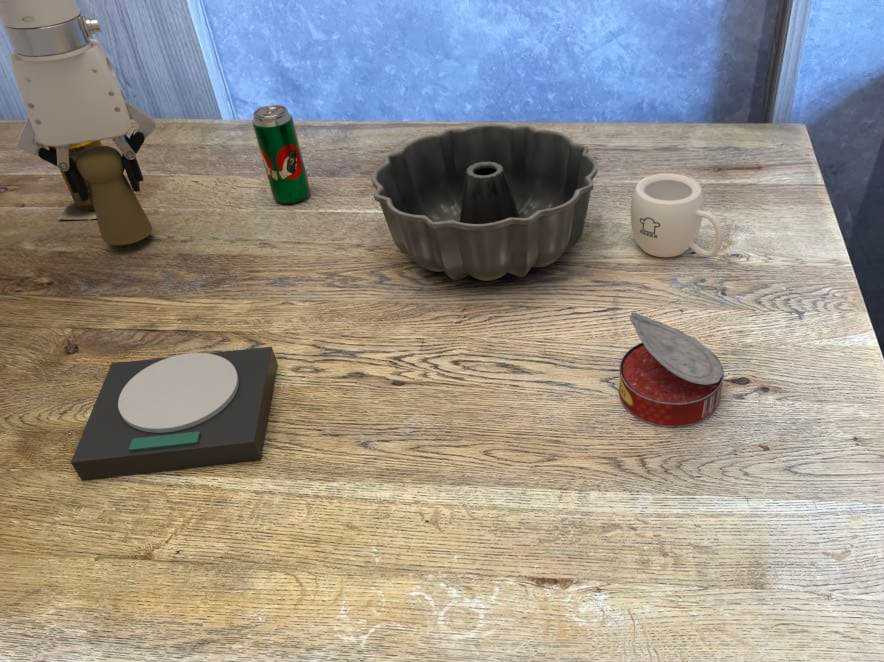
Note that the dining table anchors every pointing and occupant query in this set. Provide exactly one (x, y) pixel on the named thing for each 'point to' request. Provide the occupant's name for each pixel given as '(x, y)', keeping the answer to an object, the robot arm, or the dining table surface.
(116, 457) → the scale
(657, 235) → the mug
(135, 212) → the cork
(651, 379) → the canned food
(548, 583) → the dining table surface
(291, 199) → the soda can
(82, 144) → the condiment
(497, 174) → the bundt pan
